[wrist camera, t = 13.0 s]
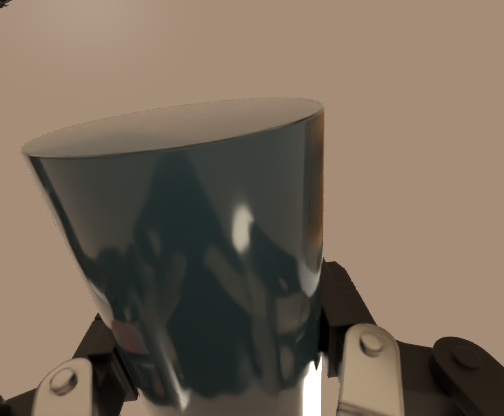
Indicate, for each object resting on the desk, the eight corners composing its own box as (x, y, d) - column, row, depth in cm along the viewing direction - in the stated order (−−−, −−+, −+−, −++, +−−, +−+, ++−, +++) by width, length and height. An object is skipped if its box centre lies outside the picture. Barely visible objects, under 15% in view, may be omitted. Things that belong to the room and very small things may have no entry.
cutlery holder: (106, 113, 8) (207, 425, 16) (-99, 180, 3) (195, 588, 11) (293, 91, 8) (303, 413, 16) (385, 123, 3) (335, 571, 11)
